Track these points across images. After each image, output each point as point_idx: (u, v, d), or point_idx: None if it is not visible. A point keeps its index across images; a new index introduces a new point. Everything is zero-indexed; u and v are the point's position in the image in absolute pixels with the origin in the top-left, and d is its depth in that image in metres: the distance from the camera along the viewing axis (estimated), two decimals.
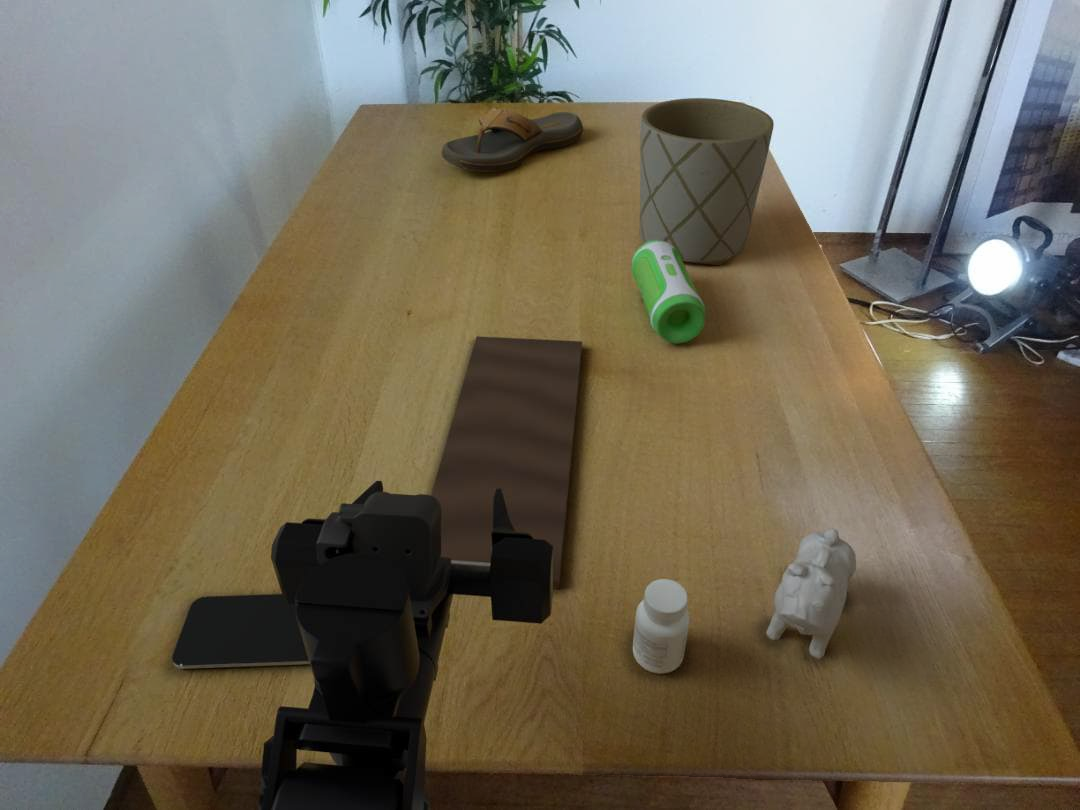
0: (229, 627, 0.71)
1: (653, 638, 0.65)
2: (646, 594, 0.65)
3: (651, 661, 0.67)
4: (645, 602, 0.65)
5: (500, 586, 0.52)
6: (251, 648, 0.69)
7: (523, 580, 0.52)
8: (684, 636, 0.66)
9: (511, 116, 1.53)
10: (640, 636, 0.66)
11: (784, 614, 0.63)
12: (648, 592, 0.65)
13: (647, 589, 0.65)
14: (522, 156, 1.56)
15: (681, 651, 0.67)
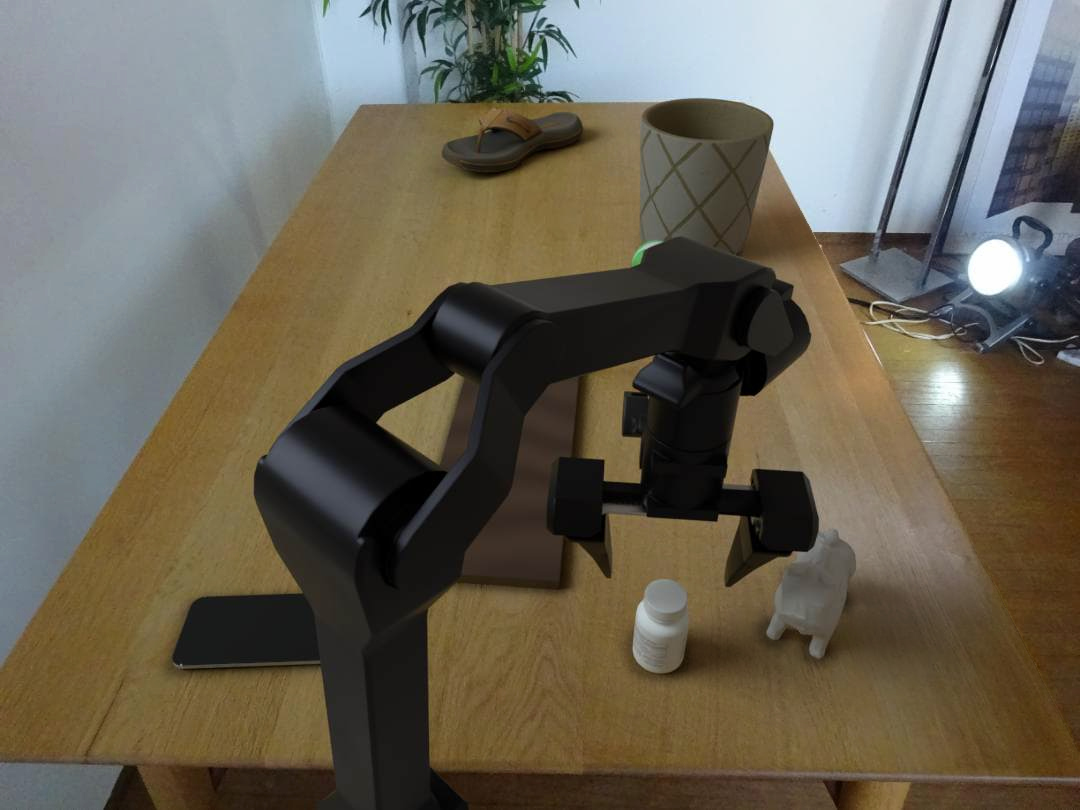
0: (229, 627, 0.71)
1: (653, 638, 0.65)
2: (646, 594, 0.65)
3: (651, 661, 0.67)
4: (645, 602, 0.65)
5: (766, 476, 0.58)
6: (251, 648, 0.69)
7: (786, 471, 0.58)
8: (684, 636, 0.66)
9: (511, 116, 1.53)
10: (640, 636, 0.66)
11: (784, 614, 0.63)
12: (648, 592, 0.65)
13: (647, 589, 0.65)
14: (522, 156, 1.56)
15: (681, 651, 0.67)
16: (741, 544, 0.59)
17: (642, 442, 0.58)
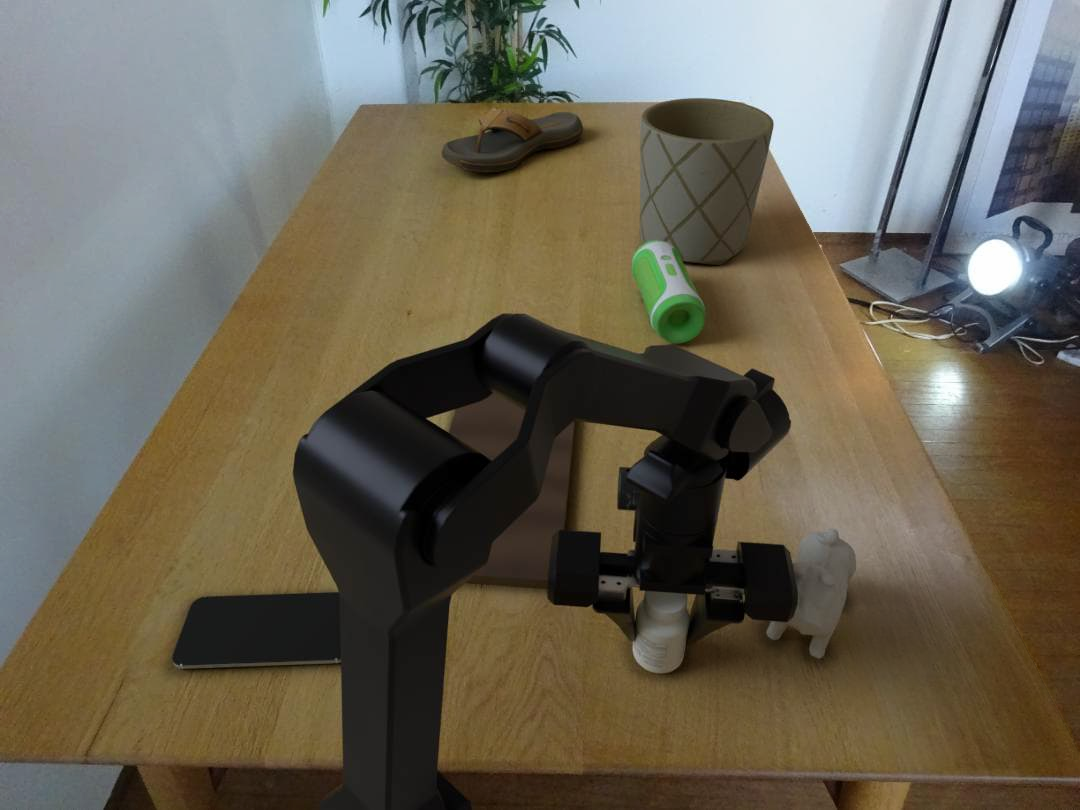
0: (229, 627, 0.71)
1: (653, 638, 0.65)
2: (646, 594, 0.65)
3: (651, 661, 0.67)
4: (645, 602, 0.65)
5: (750, 550, 0.62)
6: (251, 648, 0.69)
7: (769, 545, 0.63)
8: (684, 636, 0.66)
9: (511, 116, 1.53)
10: (640, 636, 0.66)
11: None
12: (648, 592, 0.65)
13: None
14: (522, 156, 1.56)
15: (681, 651, 0.67)
16: (699, 609, 0.64)
17: (635, 518, 0.63)
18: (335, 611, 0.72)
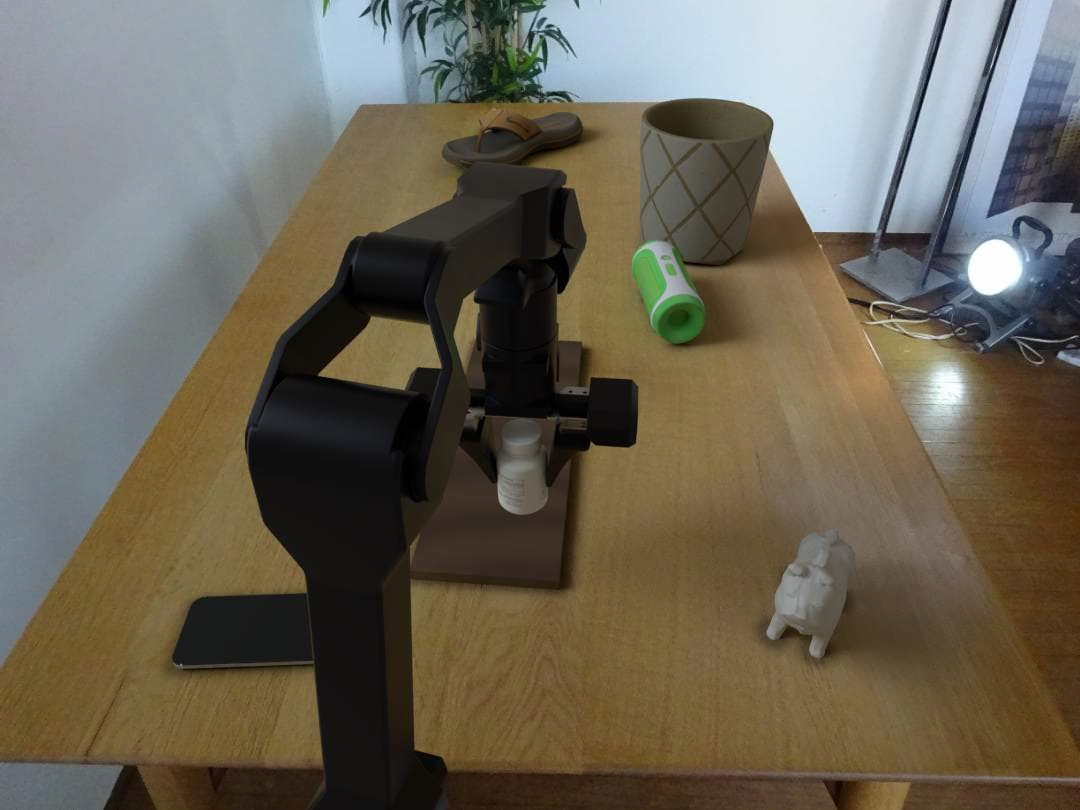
0: (229, 627, 0.71)
1: (509, 474, 0.67)
2: (502, 430, 0.67)
3: (511, 501, 0.69)
4: (501, 438, 0.66)
5: (598, 383, 0.64)
6: (251, 648, 0.69)
7: (617, 379, 0.65)
8: (541, 473, 0.67)
9: (511, 116, 1.53)
10: (499, 474, 0.68)
11: (784, 614, 0.63)
12: (504, 429, 0.67)
13: (504, 426, 0.67)
14: (522, 156, 1.56)
15: (540, 491, 0.69)
16: (552, 444, 0.66)
17: None
18: None
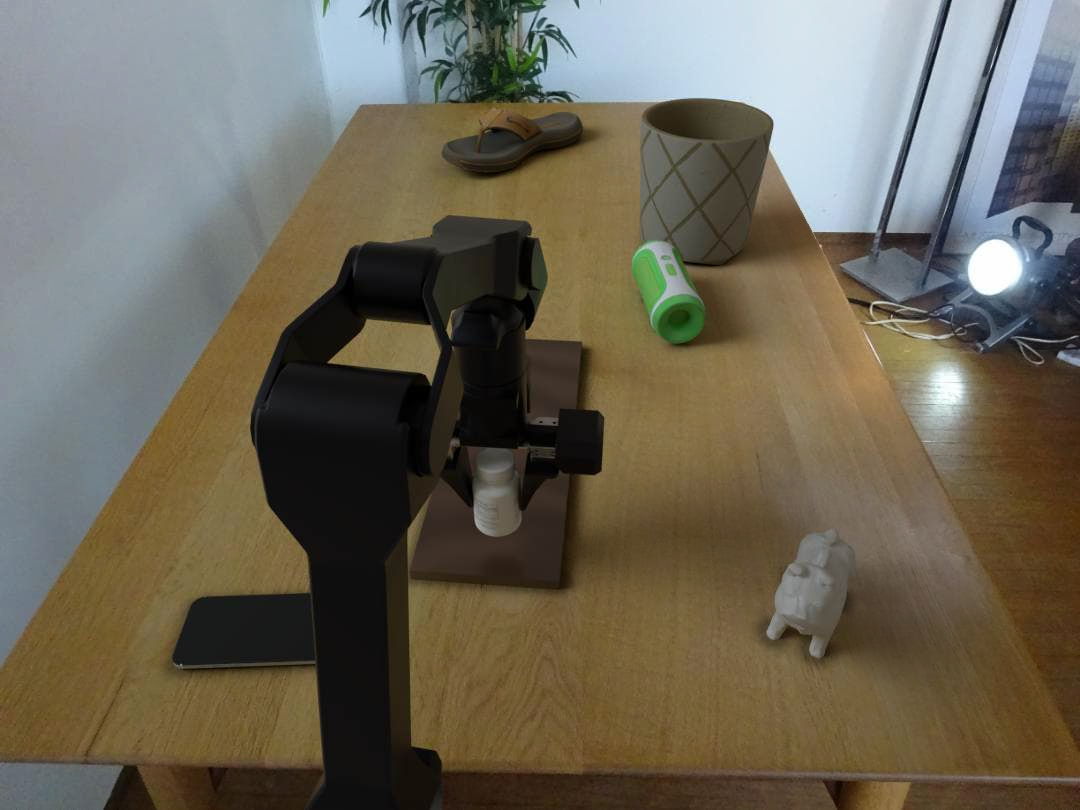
0: (229, 627, 0.71)
1: (484, 499, 0.71)
2: (477, 458, 0.71)
3: (486, 524, 0.73)
4: (476, 465, 0.71)
5: (566, 414, 0.69)
6: (251, 648, 0.69)
7: (585, 410, 0.69)
8: (514, 498, 0.72)
9: (511, 116, 1.53)
10: (475, 499, 0.72)
11: (784, 614, 0.63)
12: (479, 457, 0.71)
13: (479, 454, 0.71)
14: (522, 156, 1.56)
15: (514, 514, 0.73)
16: None
17: None
18: None
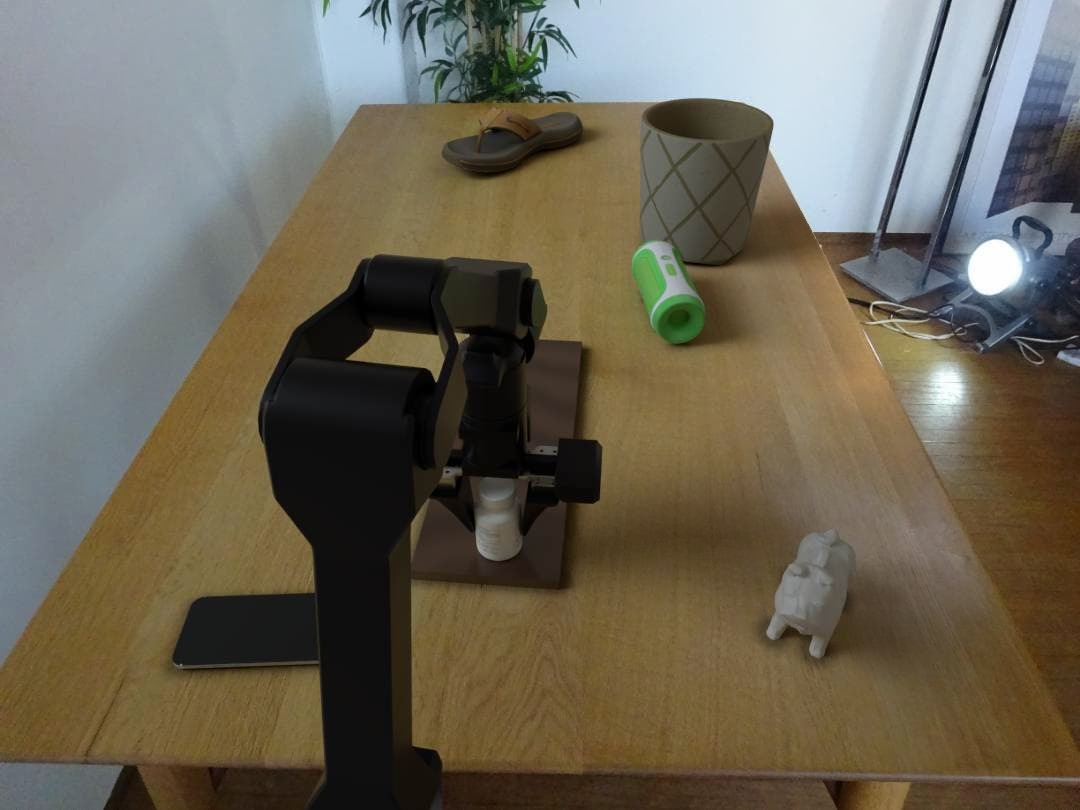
0: (229, 627, 0.71)
1: (485, 525, 0.73)
2: (479, 486, 0.73)
3: (488, 548, 0.75)
4: (478, 493, 0.73)
5: (566, 444, 0.71)
6: (251, 648, 0.69)
7: (583, 440, 0.71)
8: (515, 524, 0.74)
9: (511, 116, 1.53)
10: (477, 525, 0.74)
11: (784, 614, 0.63)
12: (481, 484, 0.73)
13: (481, 482, 0.73)
14: (522, 156, 1.56)
15: (515, 539, 0.75)
16: None
17: None
18: None
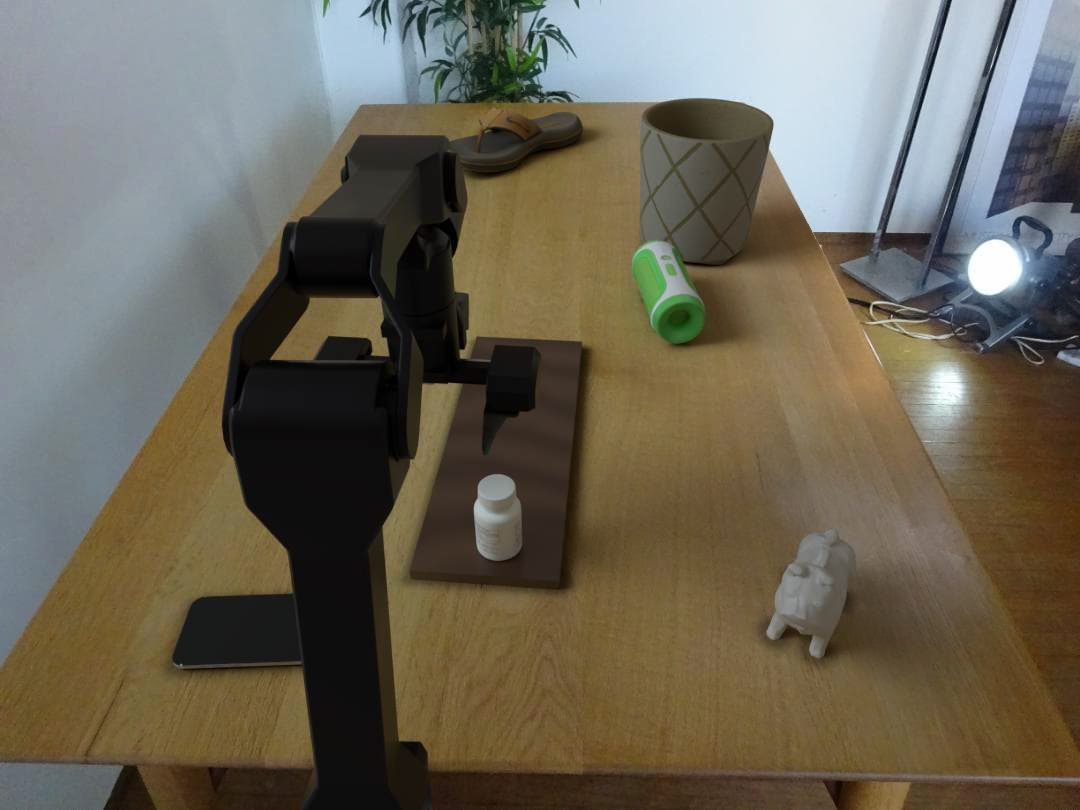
0: (229, 627, 0.71)
1: (485, 525, 0.73)
2: (479, 486, 0.73)
3: (488, 548, 0.75)
4: (478, 493, 0.73)
5: (501, 350, 0.66)
6: (251, 648, 0.69)
7: (520, 347, 0.67)
8: (515, 524, 0.74)
9: (511, 116, 1.53)
10: (477, 525, 0.74)
11: (784, 614, 0.63)
12: (481, 484, 0.73)
13: (480, 482, 0.73)
14: (522, 156, 1.56)
15: (515, 539, 0.75)
16: None
17: None
18: None
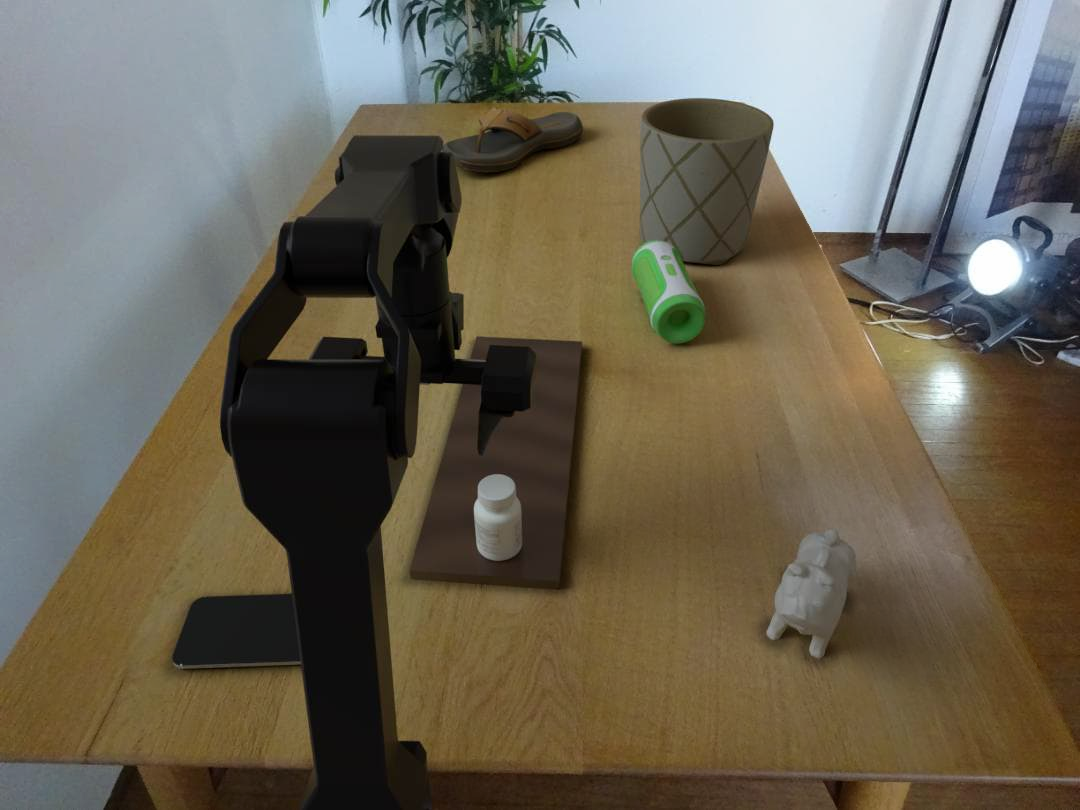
0: (229, 627, 0.71)
1: (485, 525, 0.73)
2: (479, 486, 0.73)
3: (488, 548, 0.75)
4: (478, 493, 0.73)
5: (496, 350, 0.67)
6: (251, 648, 0.69)
7: (515, 347, 0.67)
8: (515, 524, 0.74)
9: (511, 116, 1.53)
10: (477, 525, 0.74)
11: (784, 614, 0.63)
12: (481, 484, 0.73)
13: (480, 482, 0.73)
14: (522, 156, 1.56)
15: (515, 539, 0.75)
16: None
17: None
18: None
